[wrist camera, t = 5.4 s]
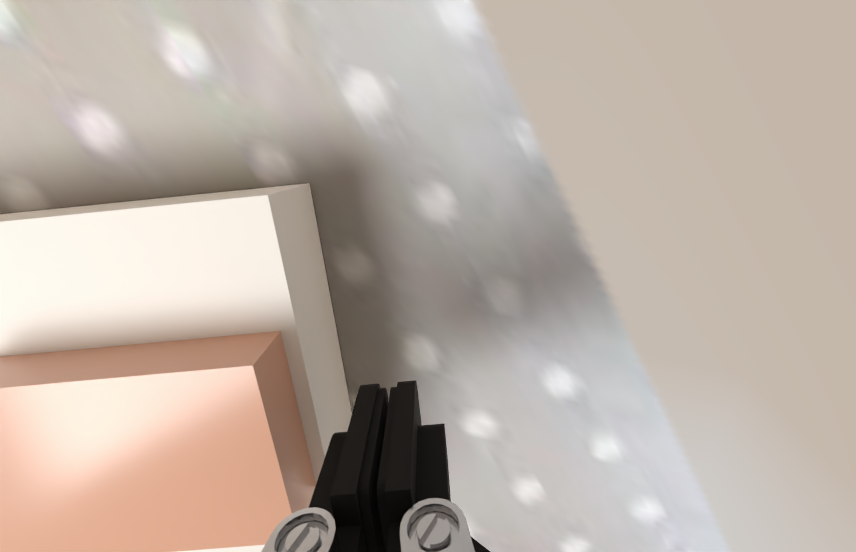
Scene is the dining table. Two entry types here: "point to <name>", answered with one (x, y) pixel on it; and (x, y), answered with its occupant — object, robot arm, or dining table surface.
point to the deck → (180, 286)
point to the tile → (150, 446)
